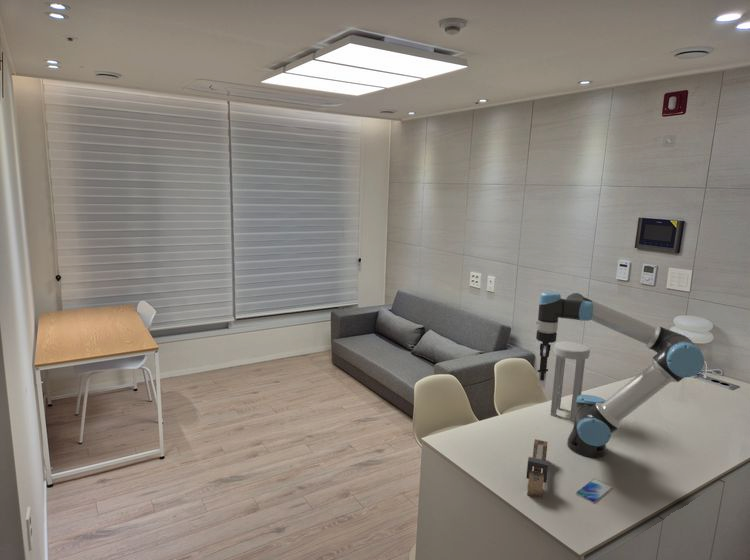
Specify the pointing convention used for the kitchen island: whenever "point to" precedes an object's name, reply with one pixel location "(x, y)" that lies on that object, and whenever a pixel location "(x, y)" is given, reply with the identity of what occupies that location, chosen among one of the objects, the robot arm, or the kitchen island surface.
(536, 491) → the sliding collar rod
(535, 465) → the grey rectangular sleeve
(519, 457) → the kitchen island surface
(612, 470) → the kitchen island surface
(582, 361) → the stool
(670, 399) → the kitchen island surface
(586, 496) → the smartphone
